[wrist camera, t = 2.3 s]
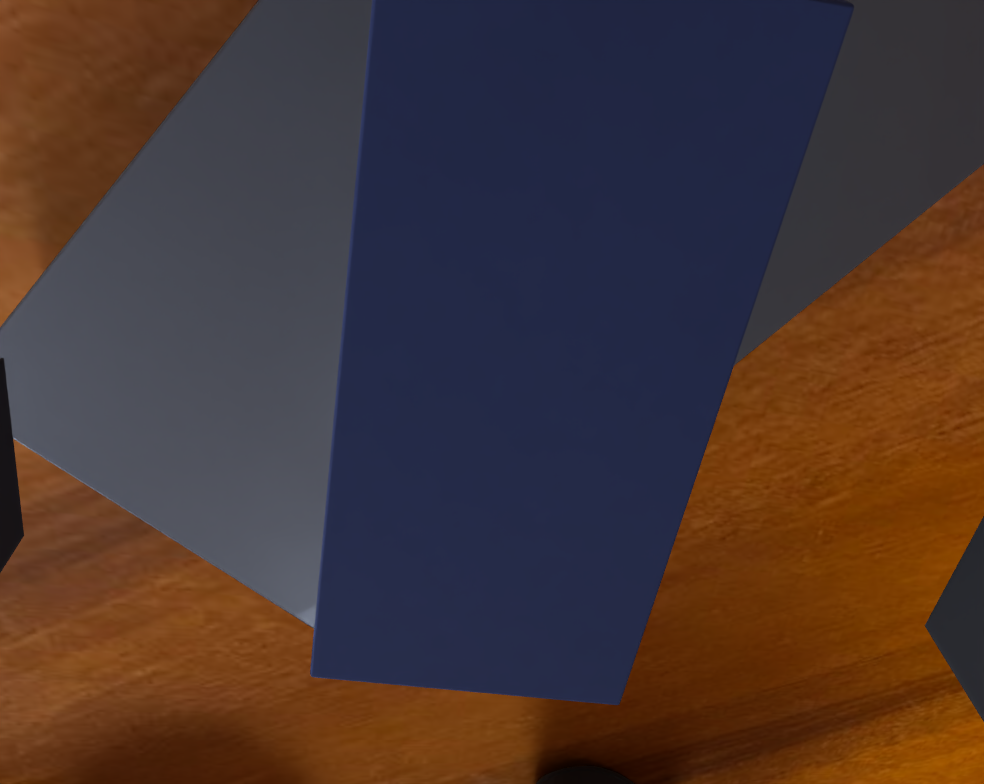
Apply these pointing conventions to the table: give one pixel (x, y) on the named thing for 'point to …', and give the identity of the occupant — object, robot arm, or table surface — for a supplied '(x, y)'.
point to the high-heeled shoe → (583, 776)
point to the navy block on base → (546, 321)
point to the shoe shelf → (324, 261)
